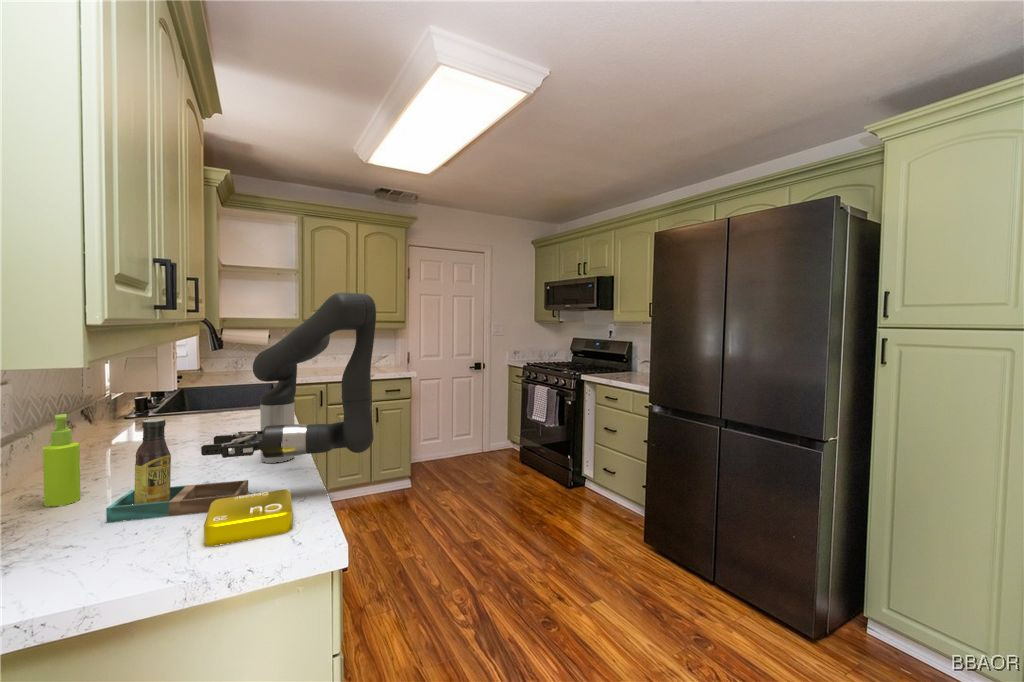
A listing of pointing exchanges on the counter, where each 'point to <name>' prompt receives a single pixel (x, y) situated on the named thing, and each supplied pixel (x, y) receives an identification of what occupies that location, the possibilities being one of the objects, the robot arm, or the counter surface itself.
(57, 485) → the soap dispenser
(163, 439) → the sauce bottle
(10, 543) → the counter surface
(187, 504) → the twin dock
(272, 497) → the element tile
